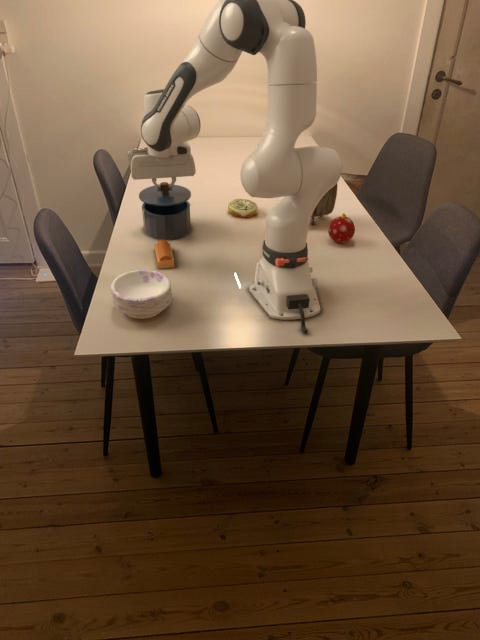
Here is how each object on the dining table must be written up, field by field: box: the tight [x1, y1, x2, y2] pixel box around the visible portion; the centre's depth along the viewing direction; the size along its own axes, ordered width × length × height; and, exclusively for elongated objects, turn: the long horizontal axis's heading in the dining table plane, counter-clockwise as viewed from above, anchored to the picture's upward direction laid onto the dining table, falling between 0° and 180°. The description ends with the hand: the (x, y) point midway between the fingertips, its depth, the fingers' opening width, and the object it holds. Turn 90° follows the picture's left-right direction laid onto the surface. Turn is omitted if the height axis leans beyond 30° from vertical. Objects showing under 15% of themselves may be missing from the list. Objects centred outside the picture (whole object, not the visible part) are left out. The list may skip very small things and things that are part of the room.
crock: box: [141, 200, 192, 241], centre depth 163 cm, size 16×16×8 cm
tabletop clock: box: [310, 183, 338, 226], centre depth 164 cm, size 14×9×25 cm, turn 108°
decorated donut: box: [227, 198, 259, 218], centre depth 176 cm, size 10×11×4 cm
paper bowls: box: [110, 269, 173, 320], centre depth 126 cm, size 15×15×8 cm
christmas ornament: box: [327, 212, 356, 244], centre depth 158 cm, size 9×9×10 cm
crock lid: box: [138, 181, 192, 206], centre depth 157 cm, size 17×17×5 cm
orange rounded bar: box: [154, 239, 175, 270], centre depth 148 cm, size 11×5×4 cm, turn 13°
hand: (164, 190), depth 157 cm, fingers closed on crock lid, 2 cm apart
